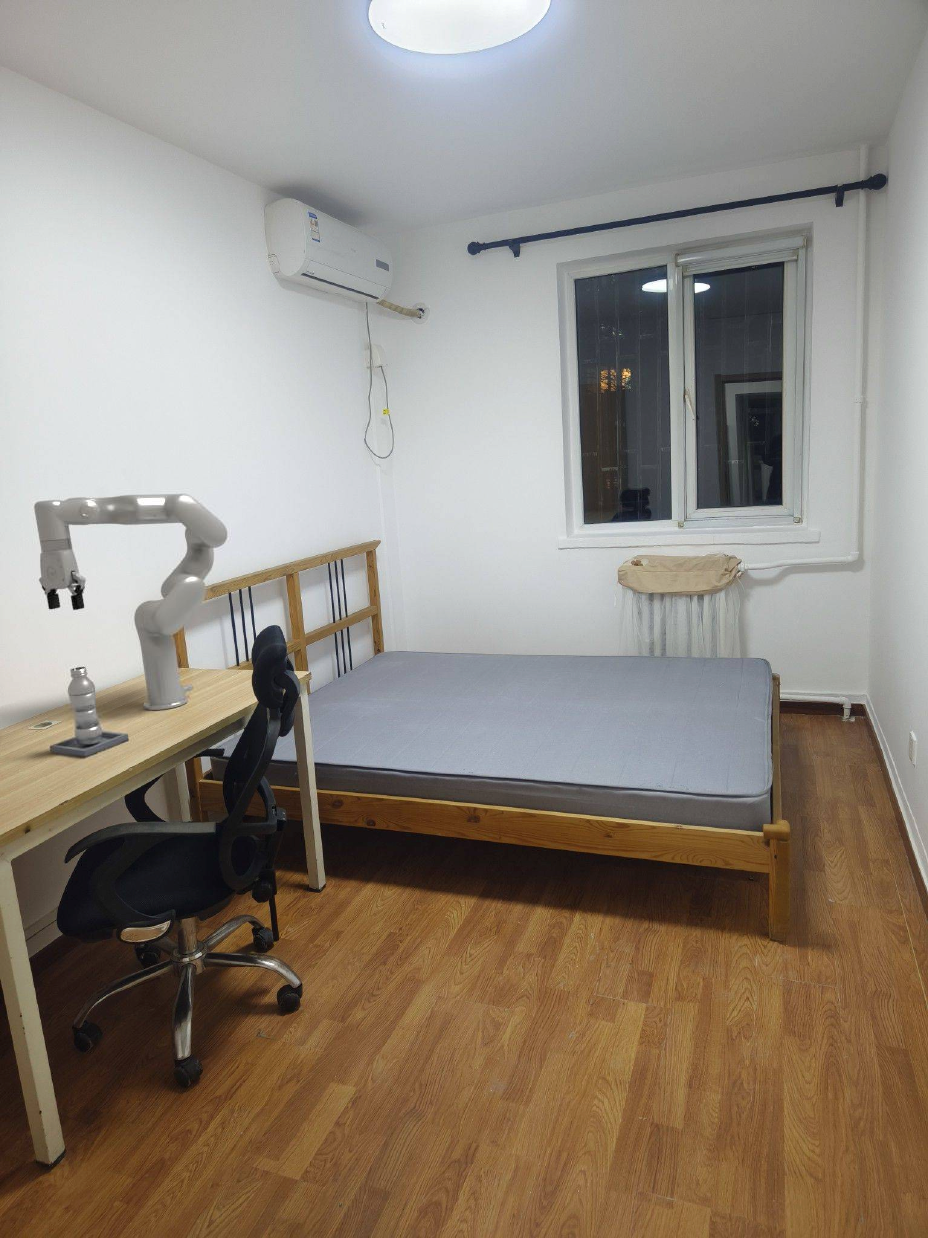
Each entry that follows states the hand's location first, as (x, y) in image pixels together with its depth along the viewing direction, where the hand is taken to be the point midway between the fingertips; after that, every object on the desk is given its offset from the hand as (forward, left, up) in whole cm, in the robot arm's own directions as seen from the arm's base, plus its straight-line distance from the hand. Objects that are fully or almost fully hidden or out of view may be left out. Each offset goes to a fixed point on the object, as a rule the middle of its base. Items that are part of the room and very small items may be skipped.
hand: (66, 608), depth 215 cm
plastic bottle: (+13, +18, -33) cm, 40 cm away
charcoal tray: (+13, +18, -33) cm, 40 cm away
